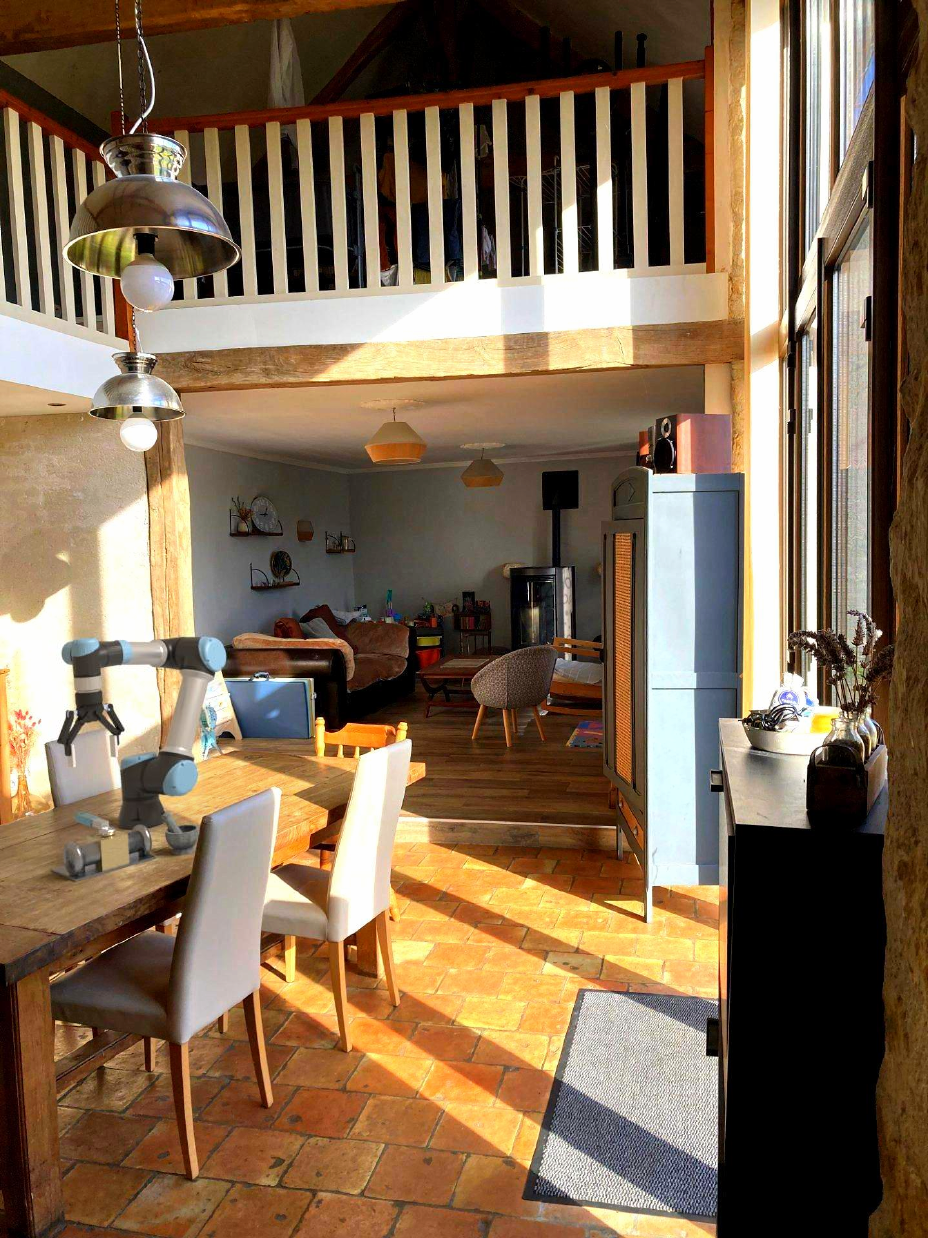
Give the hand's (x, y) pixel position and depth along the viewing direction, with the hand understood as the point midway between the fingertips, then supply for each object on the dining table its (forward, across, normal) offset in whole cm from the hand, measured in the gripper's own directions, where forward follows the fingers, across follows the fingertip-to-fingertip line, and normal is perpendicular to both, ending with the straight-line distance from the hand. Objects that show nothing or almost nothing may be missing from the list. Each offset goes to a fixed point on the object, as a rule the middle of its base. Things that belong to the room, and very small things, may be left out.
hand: (93, 761), depth 273 cm
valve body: (+28, +5, +9) cm, 30 cm away
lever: (+19, +4, +5) cm, 20 cm away
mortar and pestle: (+29, -15, +19) cm, 37 cm away
